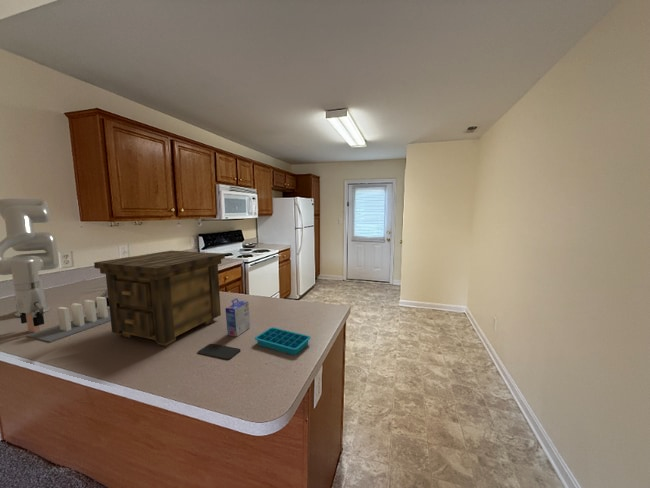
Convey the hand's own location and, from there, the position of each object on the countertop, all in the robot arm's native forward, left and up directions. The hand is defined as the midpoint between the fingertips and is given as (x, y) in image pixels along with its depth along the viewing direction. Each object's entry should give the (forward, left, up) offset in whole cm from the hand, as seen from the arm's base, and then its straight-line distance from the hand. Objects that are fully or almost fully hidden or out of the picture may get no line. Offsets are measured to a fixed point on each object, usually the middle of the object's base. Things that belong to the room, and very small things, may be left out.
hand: (32, 323), depth 117 cm
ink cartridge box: (+88, +29, -4) cm, 93 cm away
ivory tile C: (+13, +10, -3) cm, 17 cm away
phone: (+92, +12, -4) cm, 93 cm away
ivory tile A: (+13, +20, -3) cm, 24 cm away
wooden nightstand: (+56, +22, -4) cm, 60 cm away
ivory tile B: (+13, +15, -3) cm, 20 cm away
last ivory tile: (+13, +5, -3) cm, 14 cm away
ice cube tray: (+112, +25, -4) cm, 115 cm away
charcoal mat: (+12, +13, -4) cm, 18 cm away
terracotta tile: (0, 0, -4) cm, 4 cm away
